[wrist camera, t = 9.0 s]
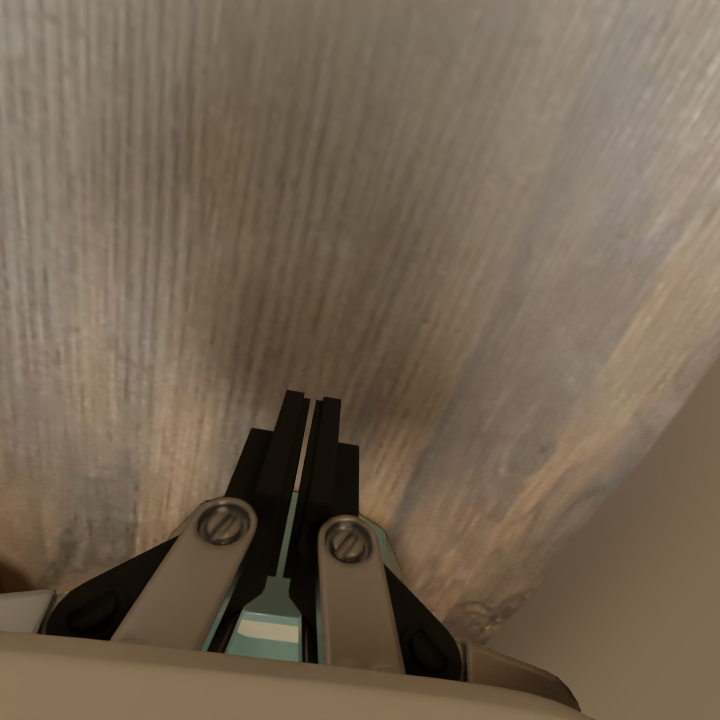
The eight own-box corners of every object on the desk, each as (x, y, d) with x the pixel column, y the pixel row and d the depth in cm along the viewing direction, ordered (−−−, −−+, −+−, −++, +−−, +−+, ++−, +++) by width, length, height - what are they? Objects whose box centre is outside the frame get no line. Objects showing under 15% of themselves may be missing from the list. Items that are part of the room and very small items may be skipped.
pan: (167, 471, 17) (91, 592, 13) (424, 511, 18) (447, 638, 14) (172, 692, 27) (129, 811, 22) (344, 710, 28) (340, 828, 23)
